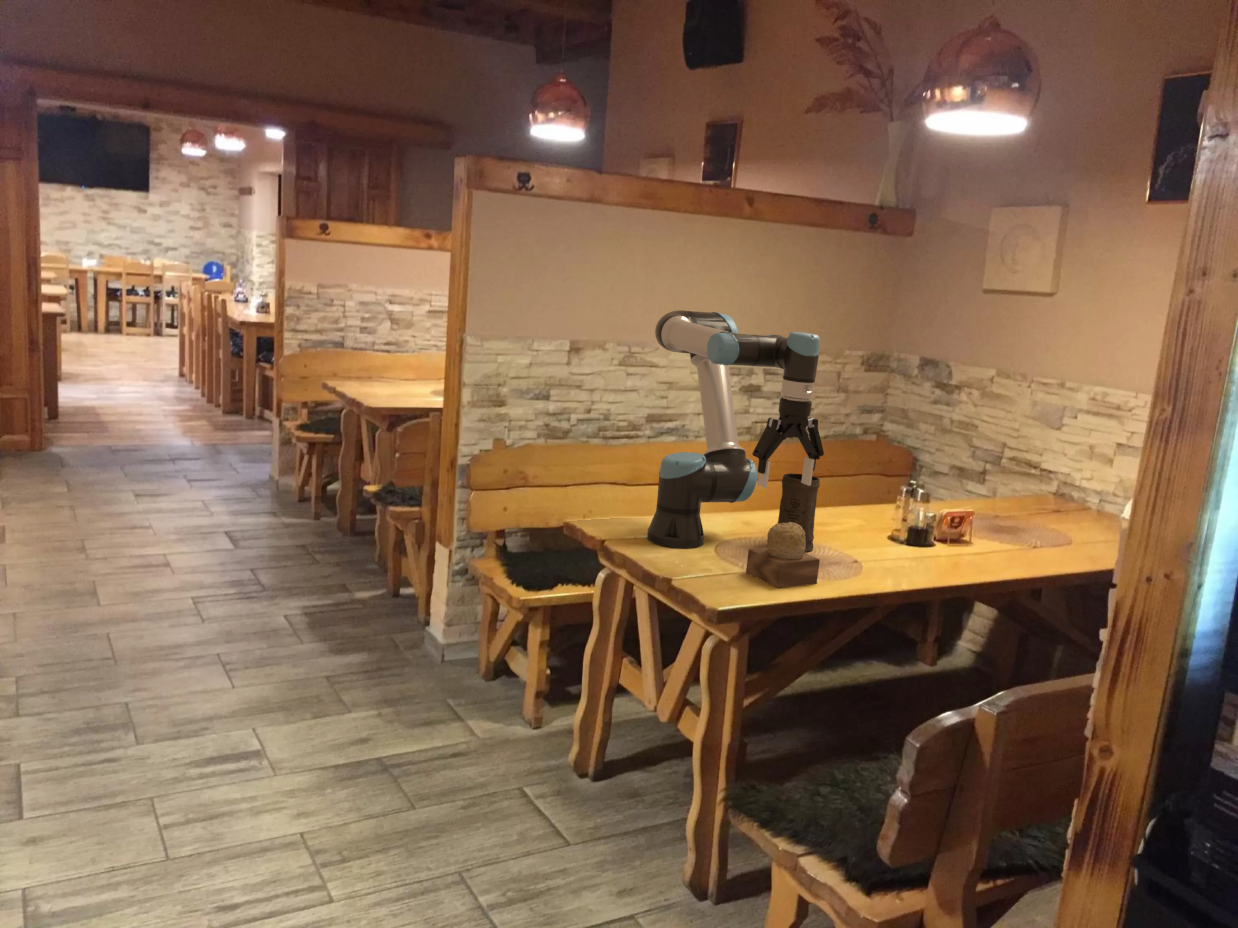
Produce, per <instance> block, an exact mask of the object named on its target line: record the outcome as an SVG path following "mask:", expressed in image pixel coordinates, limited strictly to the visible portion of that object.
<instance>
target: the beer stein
mask: <svg viewBox="0 0 1238 928" xmlns="http://www.w3.org/2000/svg"><path fill="white" fill-rule="evenodd" d="M801 480H802V474H801V473H784V474H783V476H782V479H781V489H782V490H781V498H780V503H779V511H778V518H777V523H788V522H792V523H797V524H798V525H800V526H801V527H802V528H803V530H804V531H805V537H806V546H805V552H804V553H809V552H811V551H813V550H814V543H813V541H814V539H815V535H814V531H815V529H814V528H815V516H816V508H817V507H816V506H817V500H818V497H817V496H818V491H819V488H820V486H821V483H820V478H819V477H817V476H813V475H812V480H811V485H809V486H808V485H806V484H803V483H801Z"/></svg>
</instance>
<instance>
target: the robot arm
mask: <svg viewBox="0 0 1238 928" xmlns="http://www.w3.org/2000/svg"><path fill="white" fill-rule="evenodd" d="M654 333H655V338H656V342H657V343H658V344H659V346H660V347H661V348H663V349H664V350H667V351H670V352H674V353H681V354H689V358H690V363H691V364H692V365H693V366H695V367H696V369H697V378H698V385H699V392H700V402H701V409H702V416H703V417H702V418H703V427H704V434H705V435H704V436H705V442H706V450H705V451H704V452H703V453H699V452H694V451H692V452H689V451H687V452H686V451H685V452H674V453H670V454H667V455H666V456H664V457H663V458H662V460H661V461H660V468H659V471H658V485H657V486H658V488H657V499H656V510H655V513H654V515H653V517H652V519H651V521H650V525H649V527H648V528H647V536H646V539H647V540H648V541H649V542H651V543H652V544H653V543H654V544H656V545H659V546H664V547H667V548H675V549H676V548H677V549H693V548H698V547H701V546H703V545H704V543H705V533H704V528H703V523H702V518H701V507H702V503H730V504H733V503H739V502H745V501H747V500H749V498H750V497H751V496H752V495H753V493H754V491H755V488H756V486H760V487H761V488H763V489H767V488H768V483H769V478H770V472H771V471H770V470H771V462H772V461H771V460H769V459H770V458H771V456H773V454H774V452H775V451H776V450H777V449H778V448H779V446H780V445H781V444H782V443H783V441H785V440H786V439H788V438H789V439H792V438H796V439H798V440H799V441H800V444H801V446H802V448H803V450H804V451H805V453H806V455H807V456H804V459H803V466H802V480H801V483H803V484H806V485H808V486H809V485H811V480H812V476H813V474H814V473H813V472H815V469H816V463H817V460H818V461H819V460H820V459H821V457H823V456H824V454H825V452H824V448H823V444H822V440H821V435H820V431H819V419H817V418H814V417H811V414H812V405H813V402H812V399H813V398H814V391H815V390H814V389H815V384H816V383H815V382H816V376H817V370H818V363H819V362H818V361H819V357H820V352H821V351H820V346H821V337H820V336H819V335H818V334H815V333H809V332H802V331H801V332H800V331H791V332H789V334H788V337H785V336H782V335H779V334H767V335H764V334H763V335H761V334H744V333H739V330H738V326H737V324H736V323H735V321H734V319H733V317H731V316H730V315H728V314H726V313H719V312H717V311H712V312H708V311H693V310H683V309H682V310H681V309H680V310H673V311H669V312H667V313H666V314H664V315H663V316H662V317H660V318H659V320H658V321H657V323H656V325H655V330H654ZM729 366H745V367H746V366H748V367H762V368H763V367H764V368H765V367H766V368H776V369H782V370H783V373H782V374H783V375H782V382H781V389H780V395H781V396H782V397H780V398H779V404H778V414H779V417H778V419H777V418H773V417H768V419H767V422H766V427H765V429H764V430H763V432H762V434H761V435H760V438H759V439H758V442H757V443H756V445H755V447H754V450H753V452H752V456H753V457H756V458H757V459H758V465H757V466H756V463H755V462H754V461H753V460H752V459H750V458H747V456H746V450H745V448H744V447H742V446H741V445H739V438H738V437H739V436H738V431H737V422H736V416H735V415H736V414H735V407H734V406H735V405H734V398H733V391H732V384H731V377H730V376H731V375H730V369H729Z"/></svg>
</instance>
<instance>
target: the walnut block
mask: <svg viewBox="0 0 1238 928" xmlns="http://www.w3.org/2000/svg"><path fill="white" fill-rule="evenodd" d="M747 551H748V552H747V558H746V559H747V560H746V567H745V568H746V570H745V573H746V574H747V573H748V574H747V575H749V574H750V576H751V575H752V577H754V578H756V577H757V578H756V579H758V578H759V579H758V580H760V579H761V580H760V581H762V580H763V581H762V582H764V581H765V582H764V583H766V582H767V583H766V584H768V583H769V585H770V584H771V585H770V586H772V585H773V586H772V587H774V586H775V587H774V588H776V587H777V589H781V588H780V587H785V588H787V587H786V586H793V587H799V586H798V585H801V586H807V584H809V585H815V584H817V583H818V577H819V569H820V560H821V559H820V558H818V557H815V556H812V555H811V554H808V553H807V552H804V555H803V557H802V558H801V559H783V558H778V557H774V556H772V555H770V554H769V553H768V546H767V547H758V548H757V547H755V548H748V550H747Z"/></svg>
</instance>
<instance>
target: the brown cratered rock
mask: <svg viewBox="0 0 1238 928" xmlns="http://www.w3.org/2000/svg"><path fill="white" fill-rule="evenodd" d="M766 541H767V547H768V553H769V554H770V555H772V556H774V557H778V558H783V559H801V558H802V557H803V555H804V553H806V552H805V546H806V537H805V531H804V530H803V528H802V527H801V526H800V525H798V524H797V523H792V522H788V523H778V522H777V523H776V524H774V525H773V526H772V527H770V528H769V530H768V532H767V539H766Z"/></svg>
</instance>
